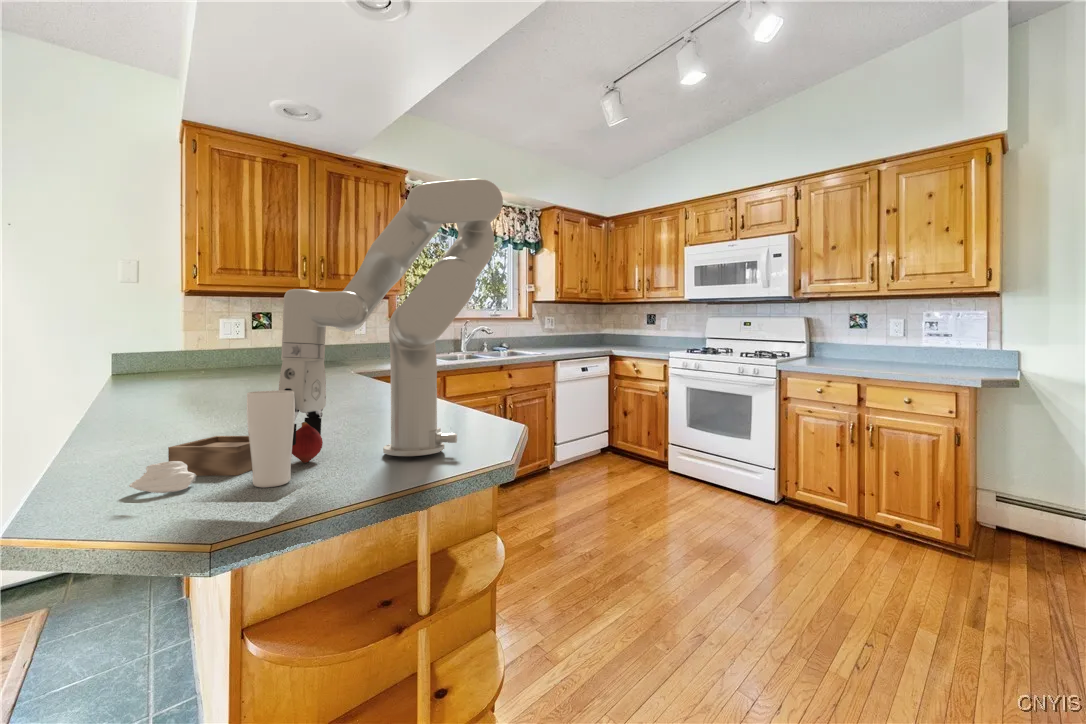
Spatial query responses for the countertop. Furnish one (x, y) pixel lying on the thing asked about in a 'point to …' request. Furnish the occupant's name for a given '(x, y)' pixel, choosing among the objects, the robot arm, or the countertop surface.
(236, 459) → the walnut base
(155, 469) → the whipped cream
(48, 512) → the countertop surface
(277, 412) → the drinking glass
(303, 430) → the onion
